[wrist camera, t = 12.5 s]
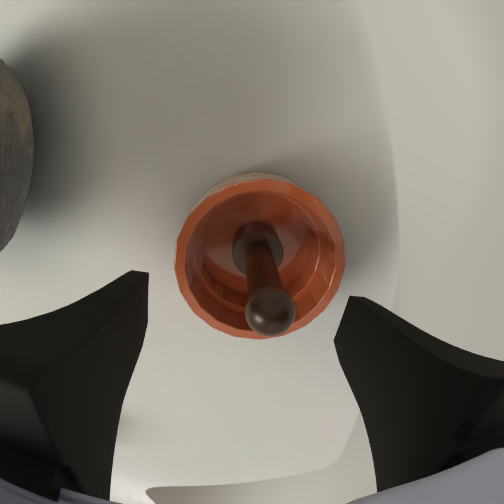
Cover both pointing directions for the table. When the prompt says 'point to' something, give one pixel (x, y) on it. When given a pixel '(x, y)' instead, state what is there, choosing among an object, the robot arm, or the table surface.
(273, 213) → the mixing bowl
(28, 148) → the grey flower pot
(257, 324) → the dark brown pestle
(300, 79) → the table surface
